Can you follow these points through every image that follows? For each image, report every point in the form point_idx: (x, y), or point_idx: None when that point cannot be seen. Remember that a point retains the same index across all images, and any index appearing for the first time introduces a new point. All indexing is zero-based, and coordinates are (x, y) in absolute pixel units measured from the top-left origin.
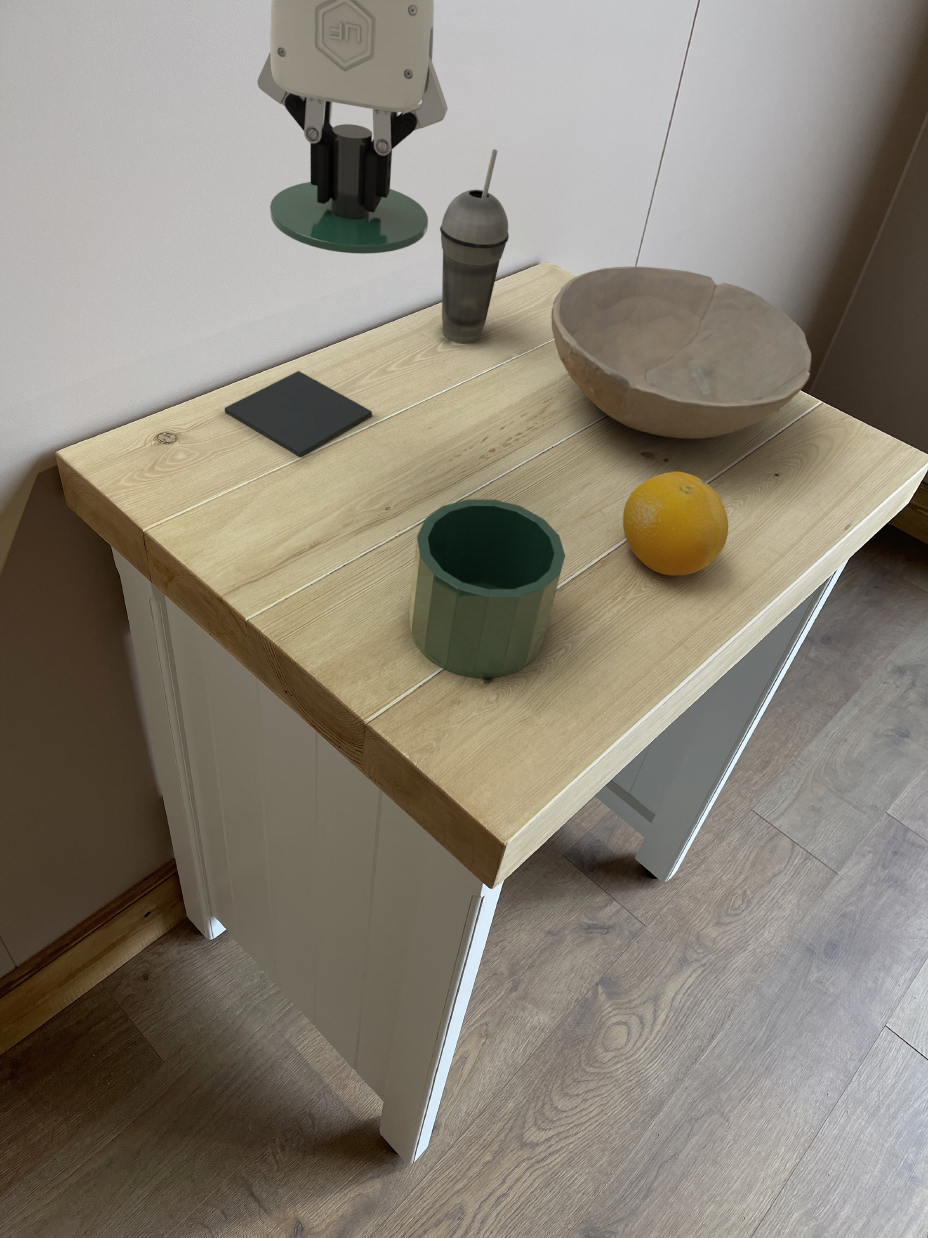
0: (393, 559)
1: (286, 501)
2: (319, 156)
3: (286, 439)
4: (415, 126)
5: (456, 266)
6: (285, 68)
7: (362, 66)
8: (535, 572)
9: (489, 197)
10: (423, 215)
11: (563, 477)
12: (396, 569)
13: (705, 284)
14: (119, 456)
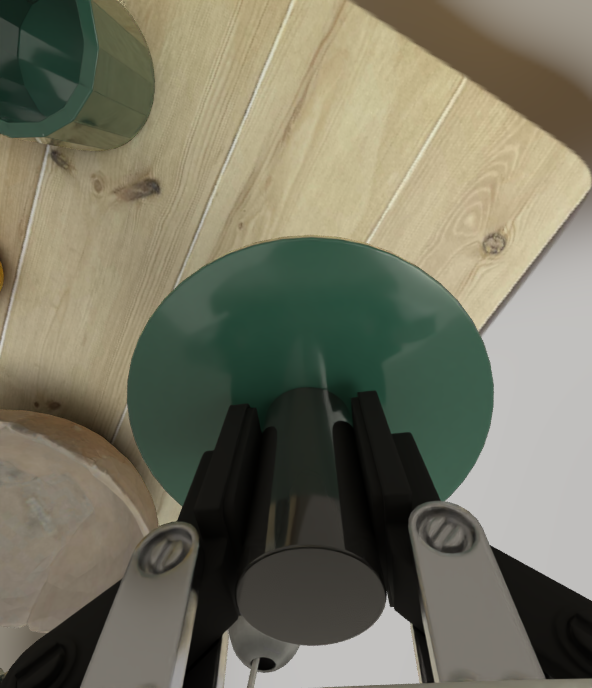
0: (203, 145)
1: (339, 192)
2: (394, 465)
3: None
4: (12, 669)
5: None
6: None
7: None
8: (10, 107)
9: (249, 661)
10: (161, 473)
11: (107, 343)
12: (194, 130)
13: (37, 620)
14: (533, 192)
